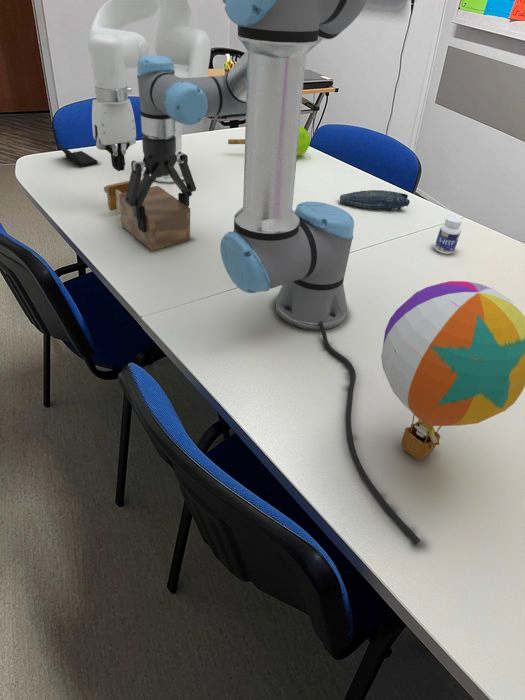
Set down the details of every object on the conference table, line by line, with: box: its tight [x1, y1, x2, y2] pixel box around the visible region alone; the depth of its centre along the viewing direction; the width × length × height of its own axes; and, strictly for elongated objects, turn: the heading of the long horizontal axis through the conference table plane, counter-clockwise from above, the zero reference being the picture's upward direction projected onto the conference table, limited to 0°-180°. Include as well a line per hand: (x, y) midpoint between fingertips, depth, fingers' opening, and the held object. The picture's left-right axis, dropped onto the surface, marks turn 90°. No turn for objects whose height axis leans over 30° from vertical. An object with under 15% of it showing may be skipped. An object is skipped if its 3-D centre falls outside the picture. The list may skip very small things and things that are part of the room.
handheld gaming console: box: [53, 140, 98, 167], centre depth 169 cm, size 12×7×10 cm
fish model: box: [339, 189, 411, 211], centre depth 158 cm, size 7×21×5 cm, turn 84°
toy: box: [380, 280, 525, 461], centre depth 74 cm, size 20×20×30 cm
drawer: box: [103, 179, 142, 215], centre depth 139 cm, size 19×10×7 cm, turn 41°
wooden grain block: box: [119, 185, 191, 252], centre depth 132 cm, size 15×11×9 cm
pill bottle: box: [434, 215, 463, 255], centre depth 137 cm, size 5×5×9 cm
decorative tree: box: [227, 125, 311, 157], centre depth 186 cm, size 18×10×30 cm
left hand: (118, 169), depth 138 cm, fingers closed
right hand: (163, 224), depth 130 cm, fingers closed on wooden grain block, 11 cm apart
